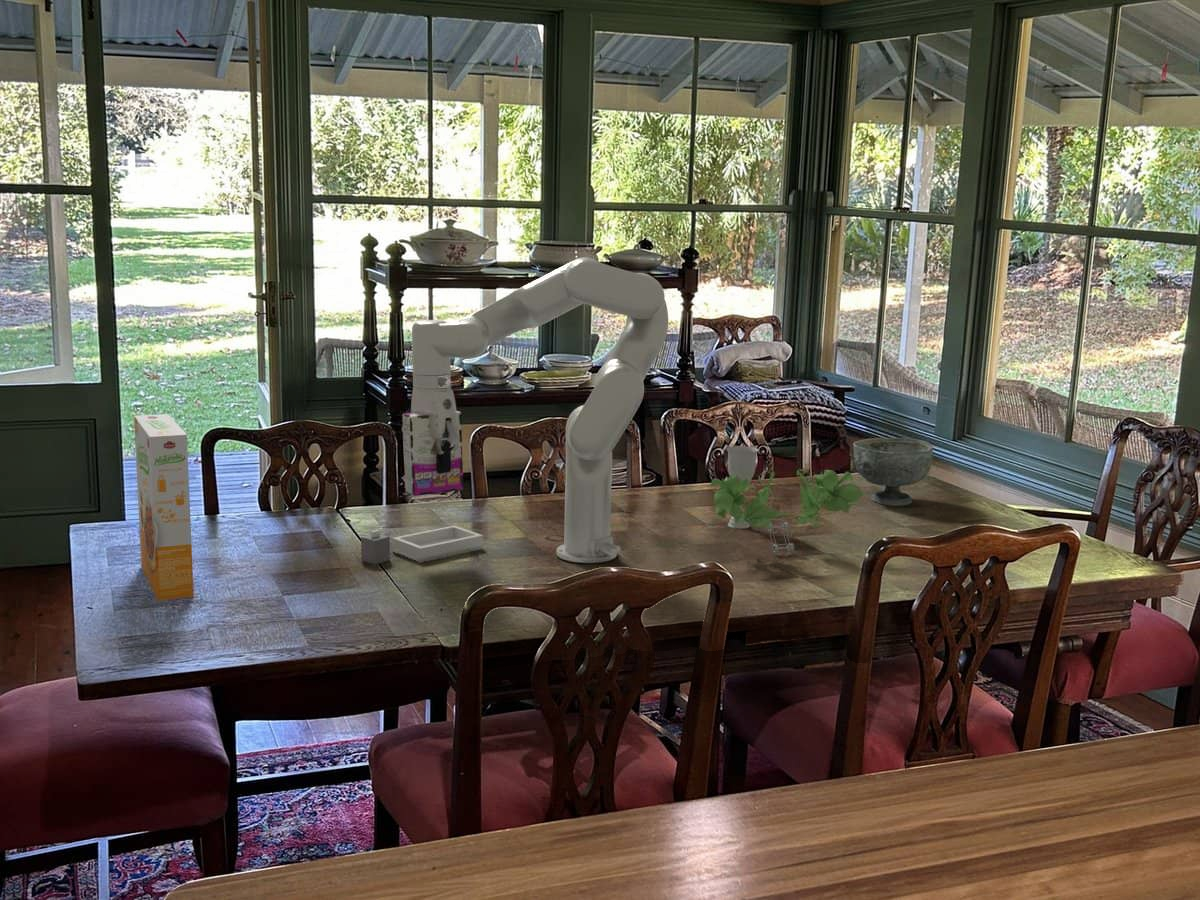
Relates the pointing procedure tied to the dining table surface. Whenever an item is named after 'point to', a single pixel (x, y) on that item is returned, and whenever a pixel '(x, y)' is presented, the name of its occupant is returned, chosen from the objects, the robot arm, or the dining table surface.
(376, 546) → the brick
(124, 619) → the dining table surface
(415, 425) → the candy bar box
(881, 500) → the bowl
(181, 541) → the cereal box
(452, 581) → the dining table surface
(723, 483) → the plant cuttings
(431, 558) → the tray
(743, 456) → the chalice
